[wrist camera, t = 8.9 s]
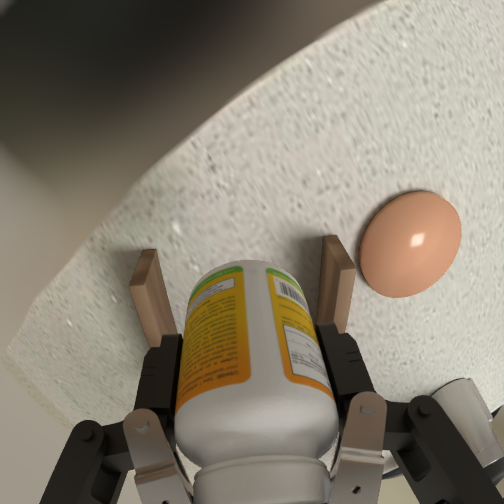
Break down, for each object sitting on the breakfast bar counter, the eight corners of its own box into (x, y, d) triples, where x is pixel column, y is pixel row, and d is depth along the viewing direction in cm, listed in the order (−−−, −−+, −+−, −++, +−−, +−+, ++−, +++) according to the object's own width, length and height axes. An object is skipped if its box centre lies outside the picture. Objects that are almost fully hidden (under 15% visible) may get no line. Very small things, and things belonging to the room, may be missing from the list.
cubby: (336, 235, 27) (370, 294, 20) (321, 357, 35) (337, 415, 28) (142, 250, 26) (118, 313, 19) (177, 369, 35) (172, 429, 28)
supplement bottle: (188, 341, 16) (175, 528, 8) (189, 251, 13) (155, 492, 5) (291, 345, 17) (325, 523, 8) (315, 260, 14) (394, 477, 6)
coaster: (465, 191, 25) (471, 195, 24) (441, 285, 31) (445, 290, 30) (366, 191, 25) (371, 196, 24) (351, 297, 31) (355, 304, 30)
